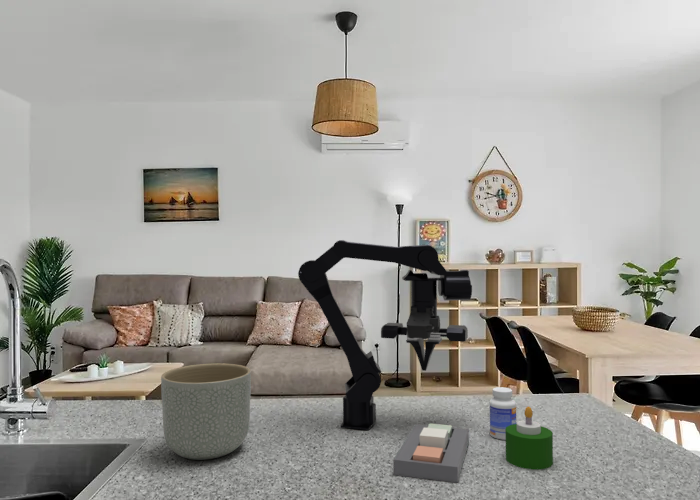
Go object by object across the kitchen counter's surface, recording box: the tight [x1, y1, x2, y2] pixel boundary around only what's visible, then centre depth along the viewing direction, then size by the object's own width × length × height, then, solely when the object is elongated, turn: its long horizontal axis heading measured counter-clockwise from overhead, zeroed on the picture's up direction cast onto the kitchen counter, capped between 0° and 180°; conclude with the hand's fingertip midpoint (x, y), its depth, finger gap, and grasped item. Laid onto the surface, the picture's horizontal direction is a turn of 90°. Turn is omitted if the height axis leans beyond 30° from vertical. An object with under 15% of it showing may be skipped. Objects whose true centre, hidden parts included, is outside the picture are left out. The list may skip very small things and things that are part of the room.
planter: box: [160, 362, 252, 461], centre depth 105 cm, size 17×17×15 cm
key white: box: [420, 427, 448, 450], centre depth 101 cm, size 5×5×2 cm
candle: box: [505, 406, 554, 471], centre depth 99 cm, size 8×8×10 cm
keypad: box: [392, 423, 470, 484], centre depth 101 cm, size 11×20×3 cm, turn 162°
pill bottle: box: [488, 386, 517, 441], centre depth 112 cm, size 5×5×10 cm
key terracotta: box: [413, 446, 443, 463], centre depth 95 cm, size 5×5×2 cm
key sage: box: [427, 423, 453, 438], centre depth 107 cm, size 5×5×2 cm
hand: (424, 370), depth 120 cm, fingers closed
